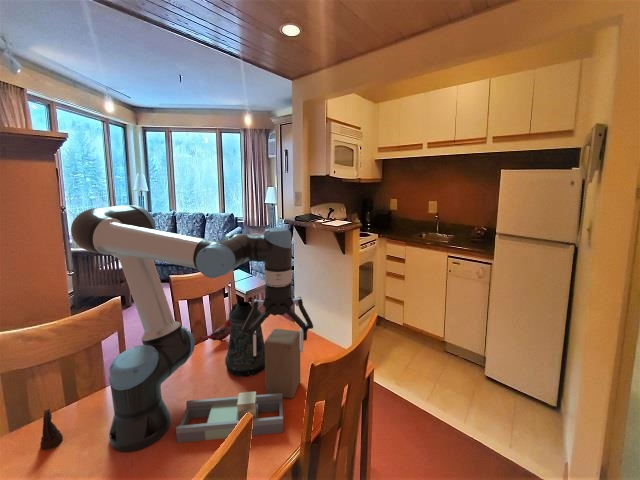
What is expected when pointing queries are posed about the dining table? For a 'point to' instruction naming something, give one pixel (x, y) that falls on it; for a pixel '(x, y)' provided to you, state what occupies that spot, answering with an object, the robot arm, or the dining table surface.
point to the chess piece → (50, 433)
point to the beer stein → (244, 344)
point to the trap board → (227, 418)
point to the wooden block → (282, 362)
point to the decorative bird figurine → (220, 332)
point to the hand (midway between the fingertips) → (278, 351)
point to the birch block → (246, 404)
